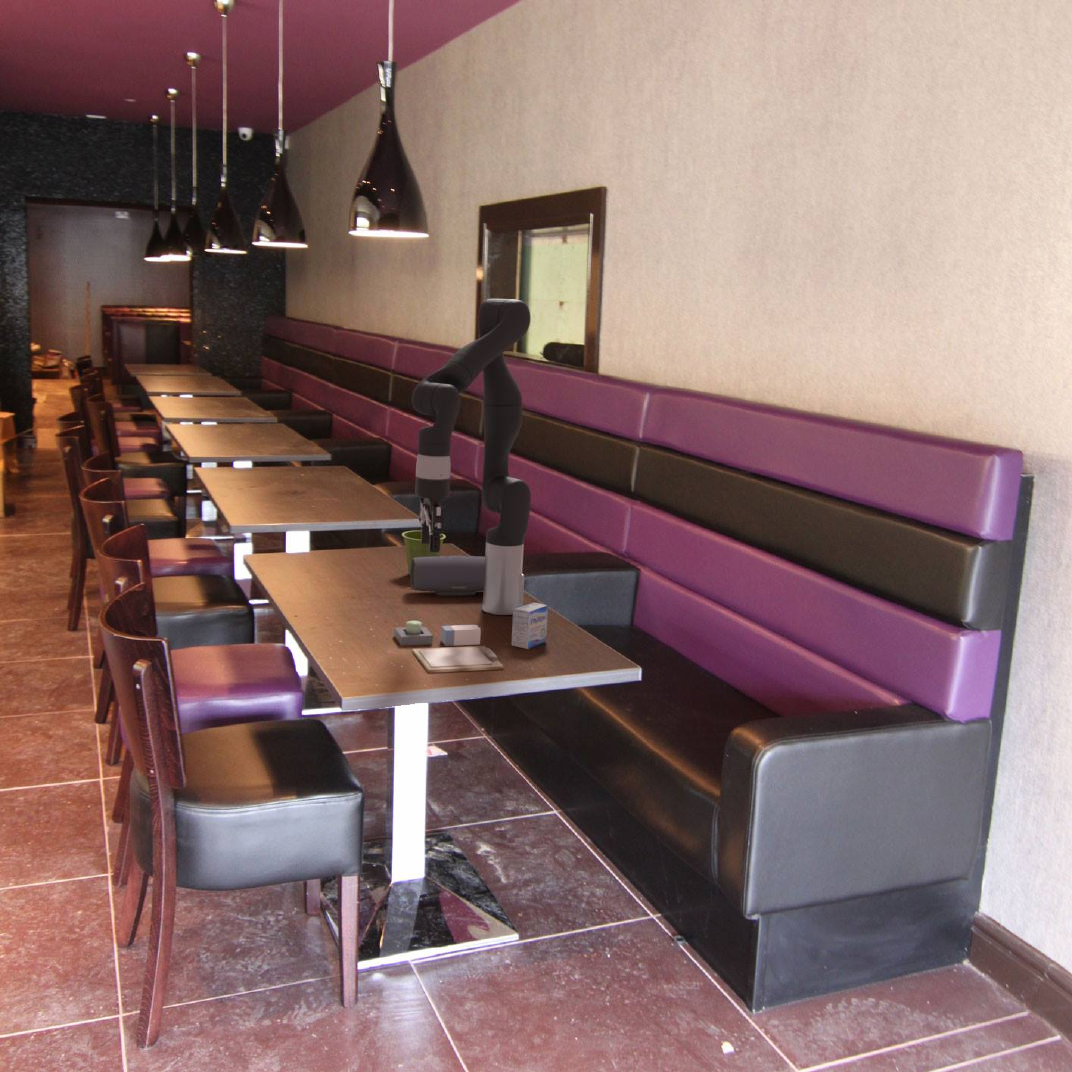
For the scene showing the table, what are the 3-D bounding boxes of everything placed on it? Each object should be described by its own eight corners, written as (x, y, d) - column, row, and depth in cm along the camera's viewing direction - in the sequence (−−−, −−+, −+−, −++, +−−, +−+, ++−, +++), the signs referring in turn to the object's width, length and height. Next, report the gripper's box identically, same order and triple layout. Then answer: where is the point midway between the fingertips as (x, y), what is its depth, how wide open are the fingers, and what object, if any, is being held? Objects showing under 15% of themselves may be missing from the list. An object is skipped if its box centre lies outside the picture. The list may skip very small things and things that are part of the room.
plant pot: (394, 577, 302) (395, 536, 299) (408, 568, 313) (410, 528, 311) (436, 582, 299) (438, 541, 297) (449, 572, 311) (450, 533, 308)
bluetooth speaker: (493, 588, 297) (495, 552, 295) (502, 598, 288) (504, 560, 286) (408, 589, 290) (410, 552, 288) (414, 599, 282) (416, 560, 280)
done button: (419, 631, 249) (419, 620, 249) (422, 636, 246) (423, 624, 246) (404, 632, 248) (404, 621, 248) (407, 636, 245) (408, 625, 245)
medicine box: (527, 650, 246) (530, 612, 244) (510, 645, 248) (512, 608, 246) (546, 642, 253) (548, 605, 251) (529, 638, 255) (532, 601, 253)
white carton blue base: (475, 639, 251) (476, 624, 250) (479, 644, 248) (480, 629, 247) (441, 641, 248) (441, 626, 248) (445, 645, 245) (445, 630, 244)
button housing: (424, 635, 252) (425, 626, 251) (432, 644, 245) (432, 635, 245) (394, 636, 250) (394, 627, 249) (401, 645, 243) (401, 636, 243)
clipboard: (484, 648, 245) (484, 642, 245) (503, 669, 232) (503, 662, 232) (412, 651, 239) (412, 645, 239) (428, 672, 227) (428, 666, 226)
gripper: (457, 480, 238) (454, 554, 242) (442, 470, 252) (439, 540, 255) (422, 480, 236) (420, 555, 239) (409, 469, 249) (407, 540, 253)
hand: (430, 547), depth 247 cm, fingers open, 8 cm apart
